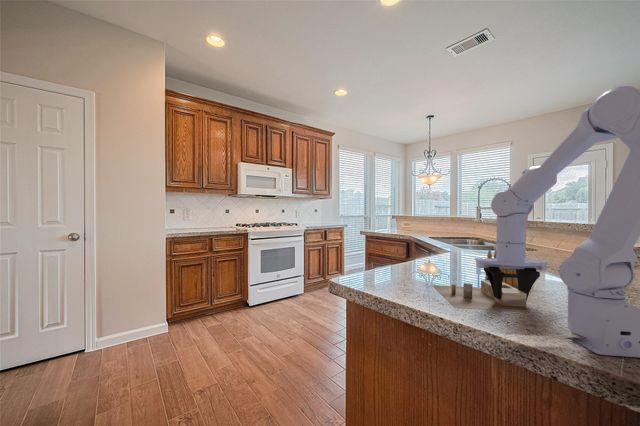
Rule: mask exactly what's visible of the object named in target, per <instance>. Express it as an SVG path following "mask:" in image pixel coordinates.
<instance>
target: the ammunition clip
mask: <svg viewBox="0 0 640 426" xmlns="http://www.w3.org/2000/svg"><path fill="white" fill-rule="evenodd" d="M493 253H494V254H493ZM493 253H492V251H491V249H489V250H488V251H487V257H486V259H496V249H495V250H494V252H493ZM492 254H493V256H492ZM504 266H505V265H504ZM499 270H501V272H504V273H505V274H504V277H503V282H504V283H506V284H508V285H510V286H512V287H513V286H514V287H515V286H516V287H518V278H517V273H516V269H506V268H499ZM484 280H487V281H489V279H488V277H487V275H486V274H485V279H484Z"/></svg>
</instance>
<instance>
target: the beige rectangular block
mask: <svg viewBox="0 0 640 426" xmlns="http://www.w3.org/2000/svg"><path fill="white" fill-rule="evenodd" d="M480 288H481V291H482V292H483V293H485V294H486V295H488V296H489V297H491V298H493V299H494V300H496V301H497V302H499V303H500V304H502V305H507V306H526V304H527V301H526V297H527V294H526V293H524V292H522V291H520V290H518V288H516V287H515V286H514V287H513V285H512V286H510V285H508V284H506V283H504V282H502V297H501V299H497V298H495V297H494V295H493V290H492V287H491V284H490V281H487V280H485V279H483V280H480Z"/></svg>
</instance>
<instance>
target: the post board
mask: <svg viewBox="0 0 640 426" xmlns="http://www.w3.org/2000/svg"><path fill="white" fill-rule="evenodd" d="M432 287H433V288H434V289H435V290H436V292H438V293H439V294H440V295H441V296H442V297H443V298H444V299H445V300H446V301H447V302H448V303H449V305H451V306H452V307H453V308H455V309H469V310H470V309H471V310H484V311H485V310H487V311H503V312H505V311H506V312H518V313H519V312H521V313H537V314H539V313H540V314H541V313H542V311H540V310H538V309H536V308H535V307H533V306H531V305H529V304H527V303H526V306H507V305H502V304H500V303H499V302H497V301H496V300H494V299H493V298H491V297H489V296H488V295H486V294H485V293H483V292H482V291H481V286H480V287H477V286H476V287H475V286H473V284H472V283H469V282H463V286H458V285H457V284H456V283H451V285H433V284H432Z"/></svg>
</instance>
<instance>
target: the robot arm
mask: <svg viewBox="0 0 640 426" xmlns="http://www.w3.org/2000/svg"><path fill="white" fill-rule="evenodd" d="M616 139H619V140H620V141H621V142H622V143H623V144H624V145H625V146H626V147H627V148H628V149H629V153H628V155H627V156H626V160H625V161H624V164H623V165H622V168H621V170H620V172H619V174H618V176H617V178H616V180H615V182H614V184H613V186H612V189H611V191H610V193H609V195H608V197H607V199H606V202H605V204H604V205H603V208H602V209H601V211H600V214H599V215H598V218H597V220H596V223H595V224H594V226H593V229H592V230H591V233H590V234H589V237H588V238H587V239H585V240H584V241H583V242H581V243H580V244H578V246H576V247H575V248H574V250H573V252H572V254H571V255H570V256H569V257H567V258H566V259H564V260H563V261H562V262H561V263H560V265H559V269H558V273H559V277H560V279H561V281H562V282H563V283H564V284H565V285H566V286H567V288H566V290H567V329H568V330H569V331H571V332H572V333H575V334H577V335H579V336H581V337H574V336H573V337H572V336H570V337H568V338H569V339H571V340H573V341H574V342H576V343H577V344H580V345H581V346H583V347H584V348H586V349H587V350H589V351H591V352H593V353H594V354H597V355H599V356H601V355H602V356H616V357H630V358H640V308H639V307H637V306H636V305H633V304H631V303H630V302H629V301H628V299H627V298H626V297H627V294H626V288H627V287H629V286H631V285H632V284H633V283H634V282H635V279H636V272H635V264H636V262H637V259H638V255H637V253H636V252H635V250H634V247H635V245H636V243H637V241H638V239H639V238H640V89H639V88H637V87H634V86H631V85H630V86H629V85H621V86H617V87H614V88H611V89H608V90H606V91H605V92H603V93H602V94H600V95H599V96H598V97H597V98H596V99H595V100H594V101H593V103H592V104H591V106H589V107H588V108H586V109H585V110H584V111H583V112H582V113H581V115H580V117H579V119H578V121H577V124H576V126H575V127H574V128H572V130H571V131H570V132H569V133H568V134H567V135H566V136H565V138H564V139H563V140H562V141H561V142H560V143H559V144H558V145H557V146H556V147H555V149H554V150H553V151H552V152H551V153H550V154H549V156H547V157H546V159H545V160H544V161H543V162H542V163H541V165H537V166H535V165H534V166H530V167H529V168H528V169H526V168H525V169H524V170H523V171H522V172H521V174H522V175H521V176H520V177H519V178H518V179H517V180H516V181H515V182H514V183H513V184H512V185H510V186H509V187H507V189H506V190H505V191H500V192H497V193H496V194H495V195H494V197H493V198H492V200H491V204H490V207H491V211H492V212H493V214H495V215H496V249H495V250H496V259H494V258H492V259H487V258H476V267H477V268H478V269H483V271H484V273H485V276H486V275H487V277H488V279H489V281H490V284H491V287H492V290H493V295H494V297H495V298H497V299H501V297H502V282H503V277H504V274H505V273H504V272H501V270H499V268H506V269H516V273H517V278H518V286H517V289H518V290H520V291H522V292H524V293H526V294H527V297H526V302H528V297H529V294H530V292H531V289H532V287H533V286H534V284H535V283H536V281H537V280H538V279H539V278H540V276H541V272H540V271H548V270H547V263H548V262H546V261H543V260H530V259H527V258H526V257H527V256H526V255H527V253H526V252H527V249H526V248H527V222H528V219H529V218H528V217H529V215H530V213H532V211H533V209H534V203H535V202H537V200H539V199H540V198H541V197H543V196H544V195H545V194H546V193H547V192H548V191H549V190H551V188H553V187H554V186H555V185H556V184H557V182H558V180H557V179H558V175H559V173H561V172H562V171H563V170H564V169H566V168H567V167H568V166H570V165H571V164H572V163H573V162H574V161H575V160H577V159H578V158H580V156H582V155H583V154H584V153H586V152H588V150H589V149H590V148H592V147H593V146H594V145H595V144H597V143H598V144H599V143H603V142H607V141H611V140H616ZM504 265H505V266H504ZM538 270H539V271H538Z"/></svg>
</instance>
